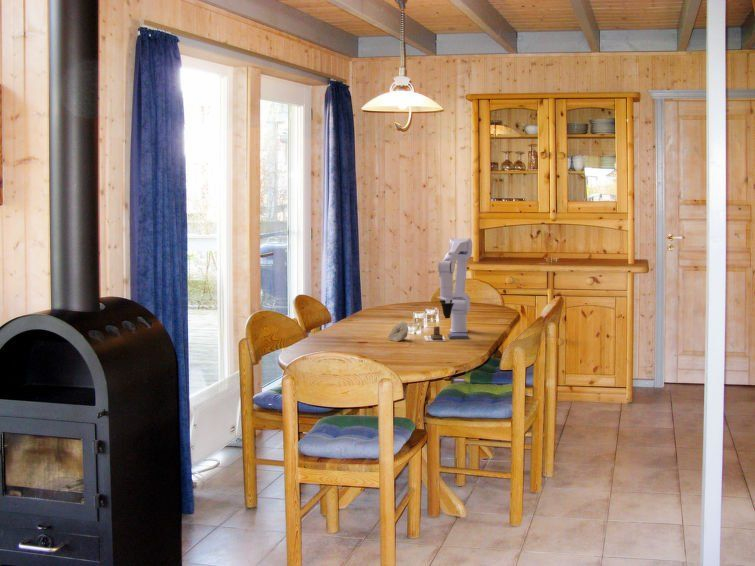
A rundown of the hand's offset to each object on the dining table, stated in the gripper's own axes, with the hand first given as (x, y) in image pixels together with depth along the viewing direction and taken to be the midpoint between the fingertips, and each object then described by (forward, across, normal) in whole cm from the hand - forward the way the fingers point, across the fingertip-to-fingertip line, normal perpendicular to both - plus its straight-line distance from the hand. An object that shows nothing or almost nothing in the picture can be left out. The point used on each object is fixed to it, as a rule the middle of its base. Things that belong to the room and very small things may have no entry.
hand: (446, 316), depth 425 cm
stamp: (+9, +4, -5) cm, 11 cm away
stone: (+10, +3, -22) cm, 24 cm away
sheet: (+10, 0, -6) cm, 11 cm away
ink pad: (+10, -2, +5) cm, 11 cm away
